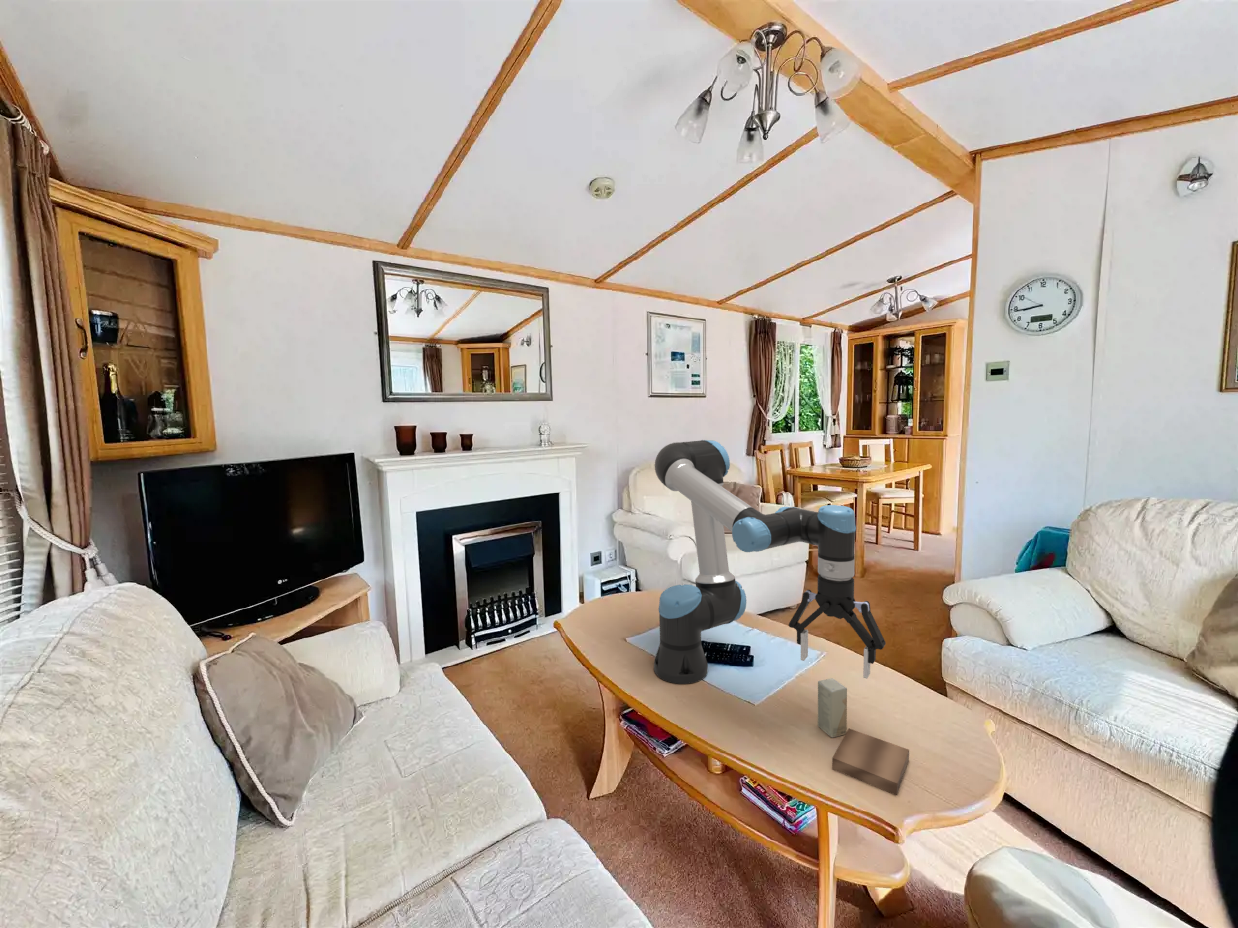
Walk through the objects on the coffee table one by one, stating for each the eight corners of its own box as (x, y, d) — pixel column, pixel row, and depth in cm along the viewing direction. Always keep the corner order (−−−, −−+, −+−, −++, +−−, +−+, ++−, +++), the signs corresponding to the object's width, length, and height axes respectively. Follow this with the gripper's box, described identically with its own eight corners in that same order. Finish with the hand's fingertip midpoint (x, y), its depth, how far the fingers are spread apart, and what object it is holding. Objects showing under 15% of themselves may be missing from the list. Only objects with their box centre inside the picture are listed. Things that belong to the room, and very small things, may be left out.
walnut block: (831, 770, 107) (832, 757, 107) (848, 740, 116) (848, 727, 116) (896, 797, 99) (897, 783, 99) (908, 762, 109) (909, 749, 108)
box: (847, 734, 118) (848, 688, 116) (831, 738, 116) (832, 692, 115) (831, 720, 123) (832, 676, 121) (816, 724, 121) (817, 680, 120)
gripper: (774, 570, 120) (774, 657, 122) (894, 592, 104) (891, 691, 107) (786, 562, 126) (786, 645, 128) (902, 581, 110) (899, 676, 112)
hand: (834, 666), depth 117 cm, fingers open, 13 cm apart
